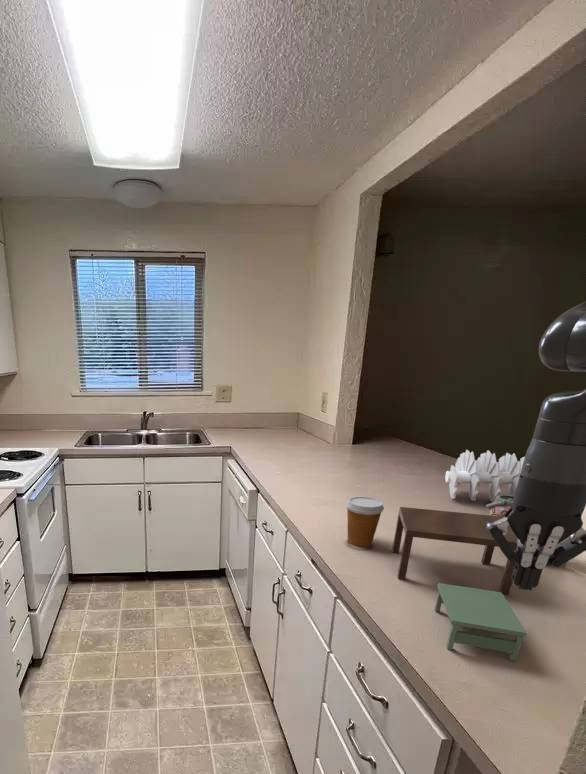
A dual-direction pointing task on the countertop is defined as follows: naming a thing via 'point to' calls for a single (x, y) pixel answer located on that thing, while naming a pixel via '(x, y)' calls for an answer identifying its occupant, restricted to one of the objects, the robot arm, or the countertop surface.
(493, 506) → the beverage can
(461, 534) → the side table
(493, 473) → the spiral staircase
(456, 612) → the stool
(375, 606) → the countertop surface
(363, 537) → the disposable coffee cup
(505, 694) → the countertop surface
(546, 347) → the robot arm
